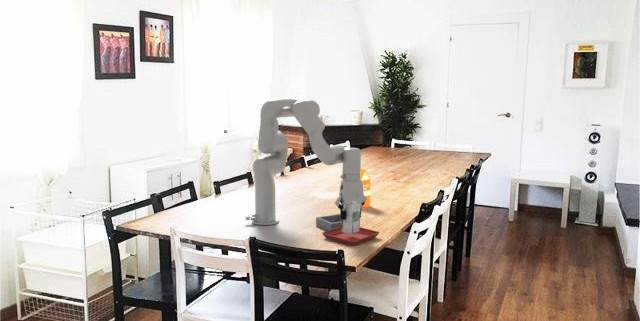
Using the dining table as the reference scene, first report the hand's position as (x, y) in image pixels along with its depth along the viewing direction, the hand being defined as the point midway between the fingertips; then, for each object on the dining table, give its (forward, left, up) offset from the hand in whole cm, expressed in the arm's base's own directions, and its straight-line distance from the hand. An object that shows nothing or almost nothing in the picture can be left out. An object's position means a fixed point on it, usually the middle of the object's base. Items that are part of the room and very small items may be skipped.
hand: (350, 217), depth 231 cm
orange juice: (+39, +48, -9) cm, 62 cm away
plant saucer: (0, 0, -10) cm, 10 cm away
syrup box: (0, 0, -7) cm, 7 cm away
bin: (+4, +18, -9) cm, 20 cm away
